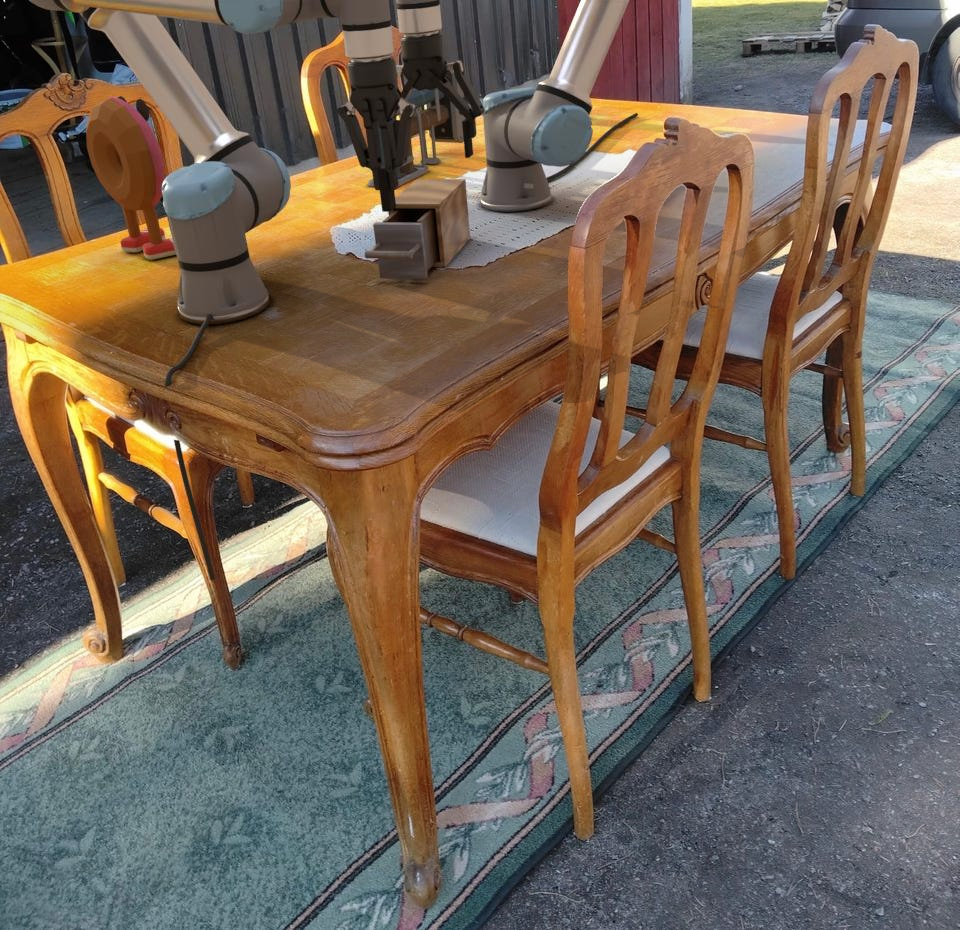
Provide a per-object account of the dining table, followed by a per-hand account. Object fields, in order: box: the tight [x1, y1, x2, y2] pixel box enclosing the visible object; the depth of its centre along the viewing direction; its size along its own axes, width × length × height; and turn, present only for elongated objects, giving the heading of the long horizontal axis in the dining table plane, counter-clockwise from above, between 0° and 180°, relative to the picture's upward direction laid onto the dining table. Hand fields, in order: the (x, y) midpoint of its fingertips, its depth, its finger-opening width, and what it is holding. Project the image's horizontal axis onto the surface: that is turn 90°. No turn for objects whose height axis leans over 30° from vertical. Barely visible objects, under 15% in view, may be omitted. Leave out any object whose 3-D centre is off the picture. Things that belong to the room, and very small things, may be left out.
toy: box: [85, 95, 177, 261], centre depth 190 cm, size 21×10×30 cm, turn 47°
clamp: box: [367, 70, 465, 188], centre depth 236 cm, size 35×9×21 cm, turn 151°
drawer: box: [364, 208, 440, 280], centre depth 171 cm, size 21×9×10 cm, turn 164°
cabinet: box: [387, 178, 471, 268], centre depth 181 cm, size 16×10×12 cm, turn 164°
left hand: (389, 209), depth 161 cm, fingers closed
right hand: (434, 157), depth 180 cm, fingers open, 13 cm apart
